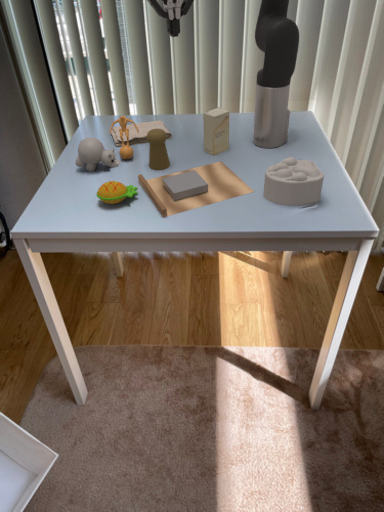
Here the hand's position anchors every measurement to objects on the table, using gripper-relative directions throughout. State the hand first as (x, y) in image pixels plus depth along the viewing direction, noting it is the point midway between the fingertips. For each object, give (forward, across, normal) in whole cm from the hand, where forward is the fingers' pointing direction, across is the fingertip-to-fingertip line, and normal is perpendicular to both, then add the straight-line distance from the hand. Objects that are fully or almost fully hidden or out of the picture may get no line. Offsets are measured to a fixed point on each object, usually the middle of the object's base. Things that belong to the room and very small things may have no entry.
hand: (174, 36), depth 101 cm
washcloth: (+32, +7, -17) cm, 37 cm away
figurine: (+31, +15, -5) cm, 35 cm away
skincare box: (+31, -9, +5) cm, 33 cm away
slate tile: (+29, +3, +21) cm, 36 cm away
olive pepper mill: (+31, +9, +6) cm, 33 cm away
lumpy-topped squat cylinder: (+31, -14, +35) cm, 49 cm away
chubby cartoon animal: (+31, +24, -2) cm, 39 cm away
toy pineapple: (+31, +24, +17) cm, 43 cm away
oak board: (+31, +5, +21) cm, 38 cm away
